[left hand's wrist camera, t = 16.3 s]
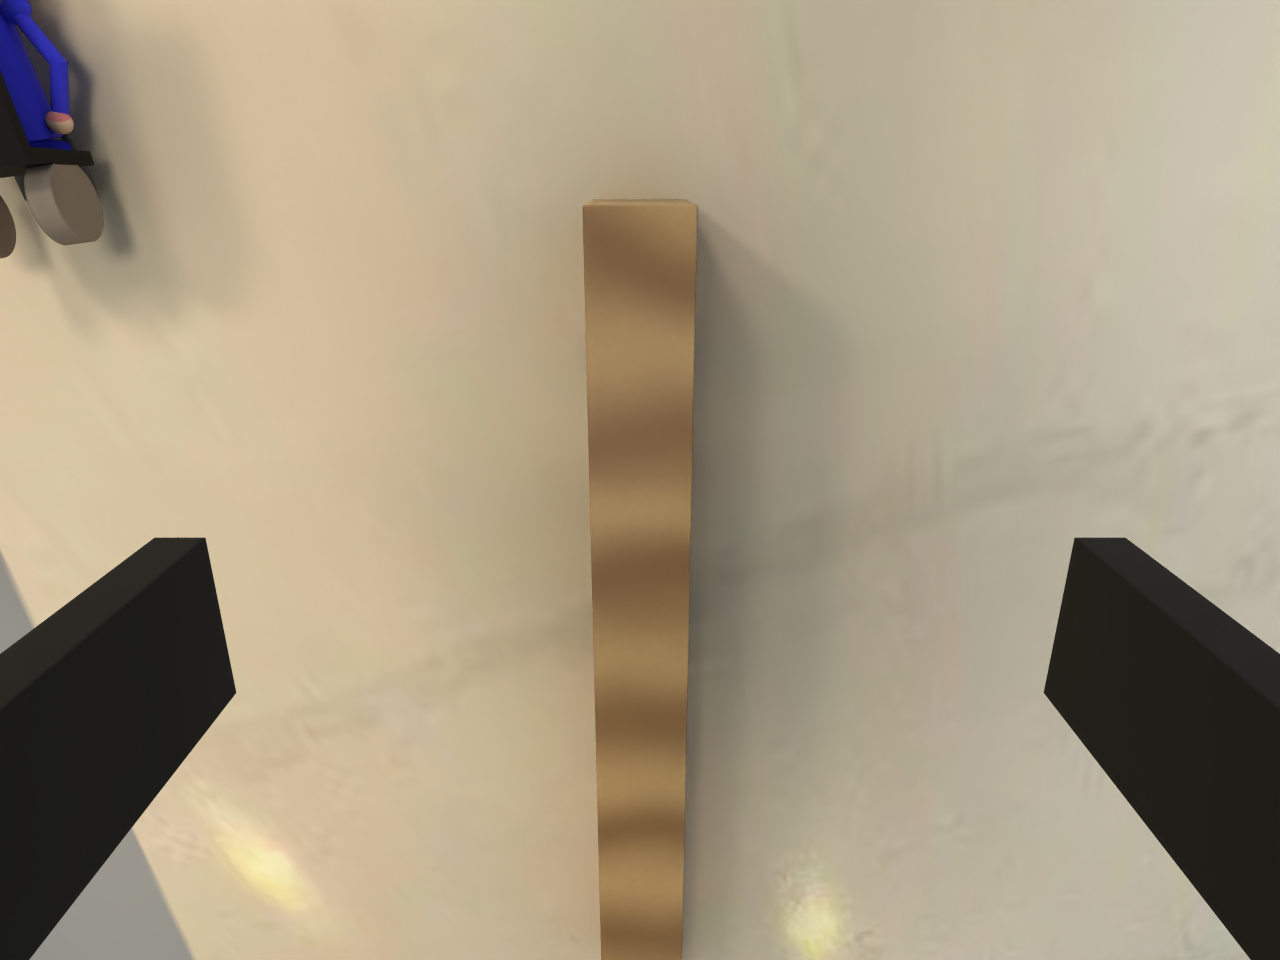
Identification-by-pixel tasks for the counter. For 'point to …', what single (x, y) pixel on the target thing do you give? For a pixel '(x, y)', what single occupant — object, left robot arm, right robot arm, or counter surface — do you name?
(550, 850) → the counter surface
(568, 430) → the counter surface
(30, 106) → the black boxy wheeled piece
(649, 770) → the post
